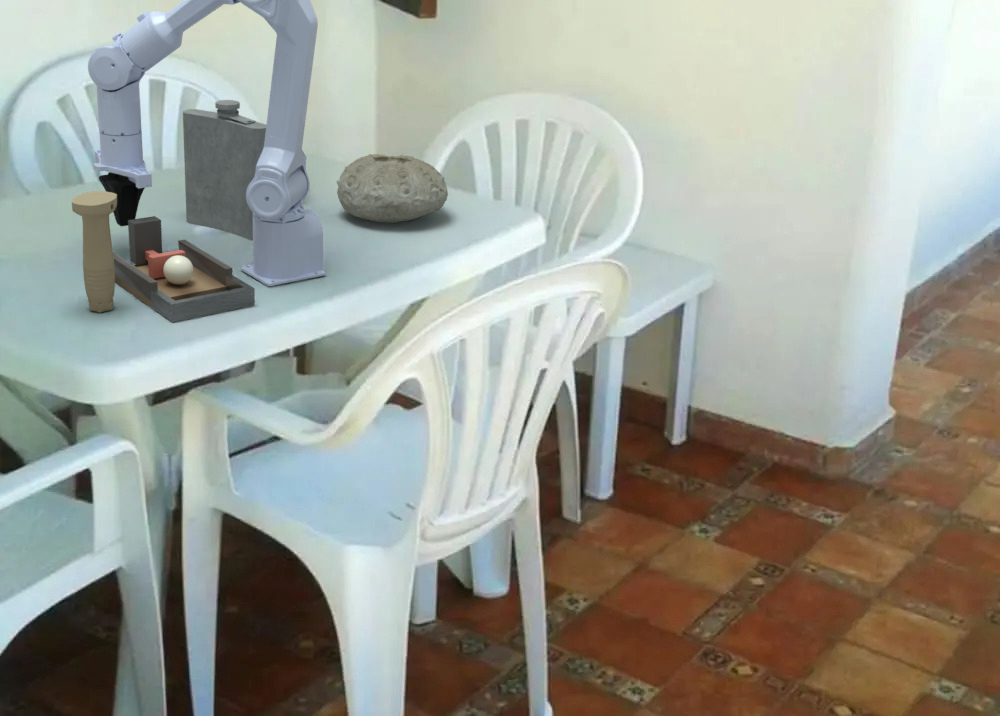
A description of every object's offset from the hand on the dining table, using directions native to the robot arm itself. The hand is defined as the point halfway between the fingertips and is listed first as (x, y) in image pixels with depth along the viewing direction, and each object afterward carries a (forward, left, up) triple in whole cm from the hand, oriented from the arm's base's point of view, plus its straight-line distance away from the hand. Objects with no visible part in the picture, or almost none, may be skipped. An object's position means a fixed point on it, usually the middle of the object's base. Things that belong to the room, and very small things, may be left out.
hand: (125, 224), depth 193 cm
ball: (0, +16, -2) cm, 17 cm away
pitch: (0, +13, -5) cm, 14 cm away
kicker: (0, +10, -4) cm, 10 cm away
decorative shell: (-45, +2, -5) cm, 45 cm away
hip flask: (-19, -5, -5) cm, 20 cm away
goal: (0, +23, -5) cm, 24 cm away
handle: (+12, +17, -5) cm, 22 cm away
